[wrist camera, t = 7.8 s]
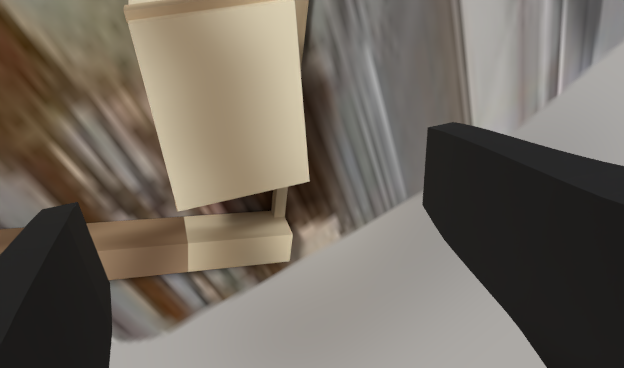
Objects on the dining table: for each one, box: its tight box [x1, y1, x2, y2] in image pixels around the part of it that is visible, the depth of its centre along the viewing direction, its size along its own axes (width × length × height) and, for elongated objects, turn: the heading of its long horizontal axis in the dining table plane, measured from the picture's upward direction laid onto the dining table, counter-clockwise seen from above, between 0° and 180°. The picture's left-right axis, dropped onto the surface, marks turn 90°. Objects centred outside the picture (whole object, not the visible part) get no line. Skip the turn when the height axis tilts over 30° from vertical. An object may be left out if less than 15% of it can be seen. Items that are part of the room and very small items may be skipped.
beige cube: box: [124, 0, 310, 211], centre depth 17 cm, size 5×6×5 cm
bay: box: [0, 0, 309, 280], centre depth 16 cm, size 20×17×2 cm
